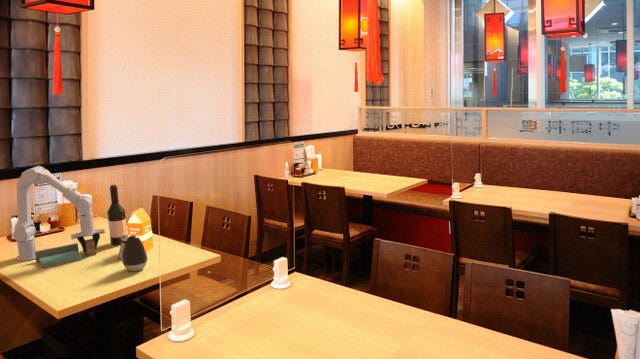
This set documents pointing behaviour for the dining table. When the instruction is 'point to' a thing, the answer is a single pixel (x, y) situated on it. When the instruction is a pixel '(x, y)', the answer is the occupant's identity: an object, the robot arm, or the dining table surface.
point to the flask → (122, 246)
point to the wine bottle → (116, 218)
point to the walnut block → (90, 247)
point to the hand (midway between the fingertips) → (90, 250)
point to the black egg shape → (134, 254)
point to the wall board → (58, 255)
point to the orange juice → (141, 228)
